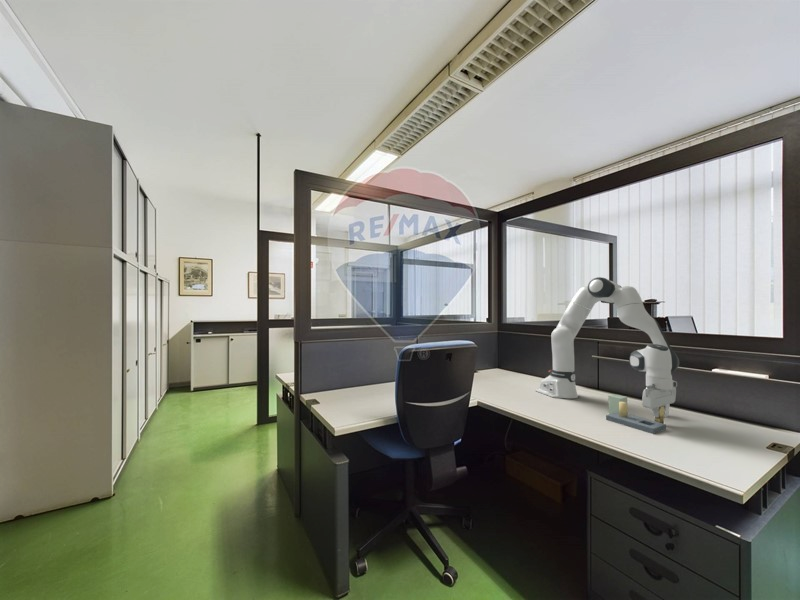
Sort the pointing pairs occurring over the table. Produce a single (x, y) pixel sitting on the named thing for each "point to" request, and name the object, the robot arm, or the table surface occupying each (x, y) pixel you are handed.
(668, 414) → the shot glass
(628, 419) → the pin board
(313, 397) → the table surface
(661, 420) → the pin
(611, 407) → the block
